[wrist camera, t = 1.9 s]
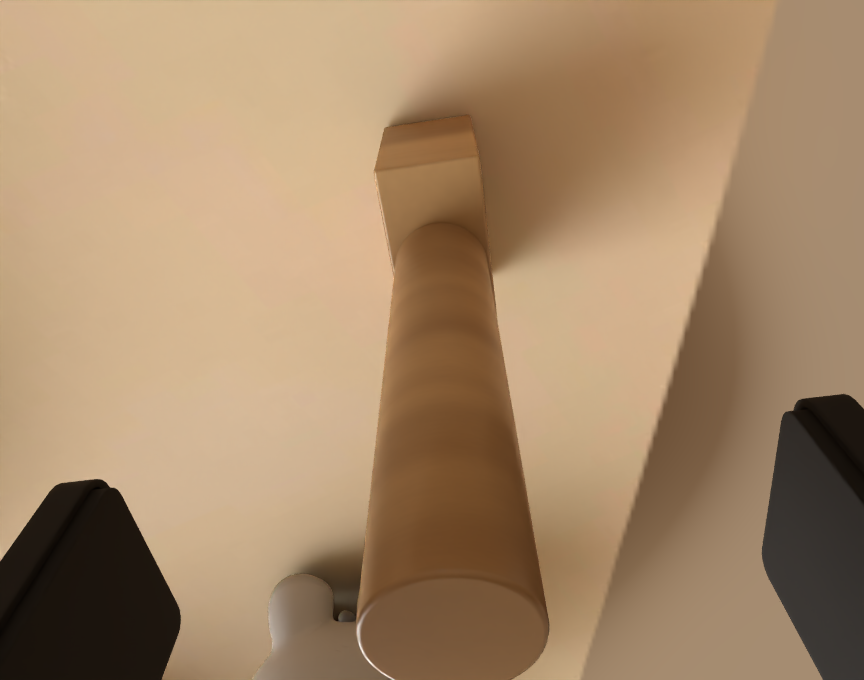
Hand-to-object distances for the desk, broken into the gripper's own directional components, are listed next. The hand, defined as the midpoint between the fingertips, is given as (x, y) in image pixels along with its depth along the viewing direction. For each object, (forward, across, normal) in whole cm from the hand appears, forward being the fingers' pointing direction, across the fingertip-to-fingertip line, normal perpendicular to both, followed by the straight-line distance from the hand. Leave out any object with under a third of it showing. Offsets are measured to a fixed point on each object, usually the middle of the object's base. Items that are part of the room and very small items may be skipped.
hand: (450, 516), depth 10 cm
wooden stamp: (+12, 0, 0) cm, 12 cm away
